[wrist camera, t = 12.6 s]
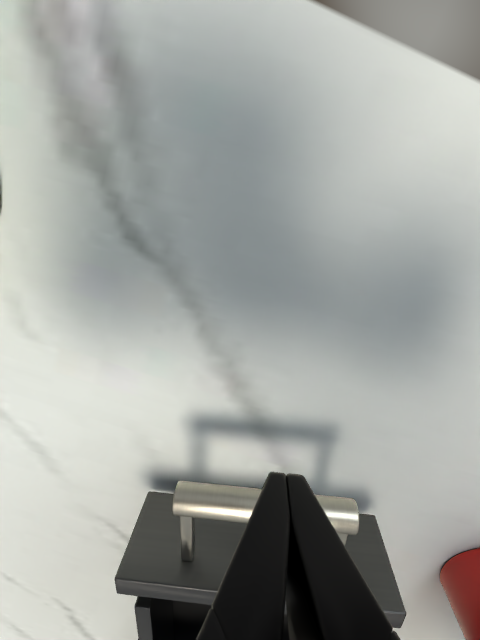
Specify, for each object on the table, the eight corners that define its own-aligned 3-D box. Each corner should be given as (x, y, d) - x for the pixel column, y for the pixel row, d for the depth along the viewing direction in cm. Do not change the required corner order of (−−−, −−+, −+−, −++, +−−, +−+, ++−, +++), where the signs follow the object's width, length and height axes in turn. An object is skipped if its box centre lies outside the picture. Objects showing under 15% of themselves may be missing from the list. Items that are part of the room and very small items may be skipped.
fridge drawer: (143, 428, 18) (102, 508, 14) (393, 452, 17) (436, 545, 13) (160, 632, 26) (137, 725, 21) (332, 655, 25) (346, 756, 21)
